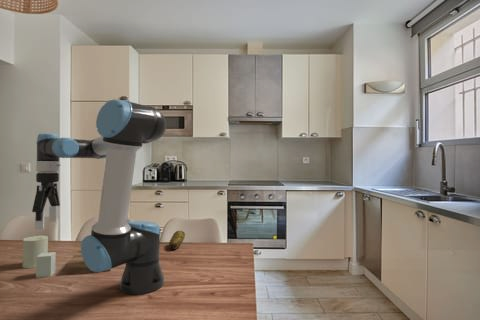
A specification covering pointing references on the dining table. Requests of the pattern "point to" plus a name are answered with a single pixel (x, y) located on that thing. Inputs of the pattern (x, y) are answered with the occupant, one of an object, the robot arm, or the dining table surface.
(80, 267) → the walnut block
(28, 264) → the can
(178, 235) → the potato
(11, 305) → the dining table surface
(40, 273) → the sage block
